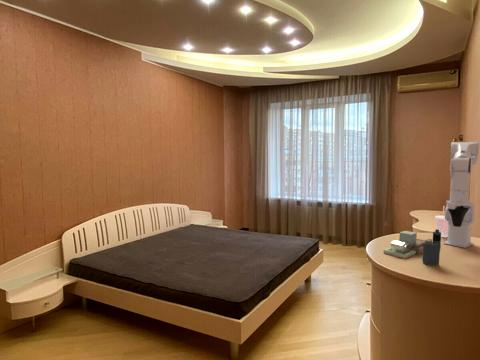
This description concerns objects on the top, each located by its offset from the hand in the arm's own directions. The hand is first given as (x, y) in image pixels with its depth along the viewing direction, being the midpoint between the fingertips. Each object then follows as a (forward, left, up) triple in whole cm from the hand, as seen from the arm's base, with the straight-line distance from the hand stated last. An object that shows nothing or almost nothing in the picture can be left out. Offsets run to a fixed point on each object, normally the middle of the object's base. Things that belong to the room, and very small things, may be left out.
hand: (457, 226), depth 121 cm
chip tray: (+17, -13, -10) cm, 24 cm away
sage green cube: (+10, -13, -8) cm, 19 cm away
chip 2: (+14, -13, -10) cm, 22 cm away
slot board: (+5, -13, -10) cm, 17 cm away
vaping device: (+20, -1, -11) cm, 22 cm away
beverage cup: (-23, -13, -11) cm, 29 cm away
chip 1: (+17, -13, -8) cm, 23 cm away
